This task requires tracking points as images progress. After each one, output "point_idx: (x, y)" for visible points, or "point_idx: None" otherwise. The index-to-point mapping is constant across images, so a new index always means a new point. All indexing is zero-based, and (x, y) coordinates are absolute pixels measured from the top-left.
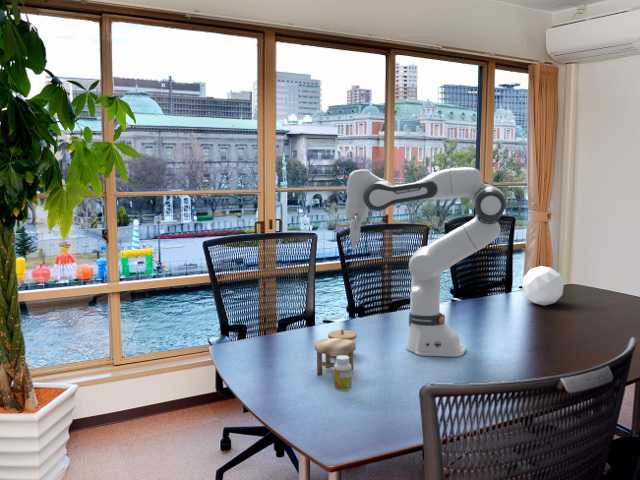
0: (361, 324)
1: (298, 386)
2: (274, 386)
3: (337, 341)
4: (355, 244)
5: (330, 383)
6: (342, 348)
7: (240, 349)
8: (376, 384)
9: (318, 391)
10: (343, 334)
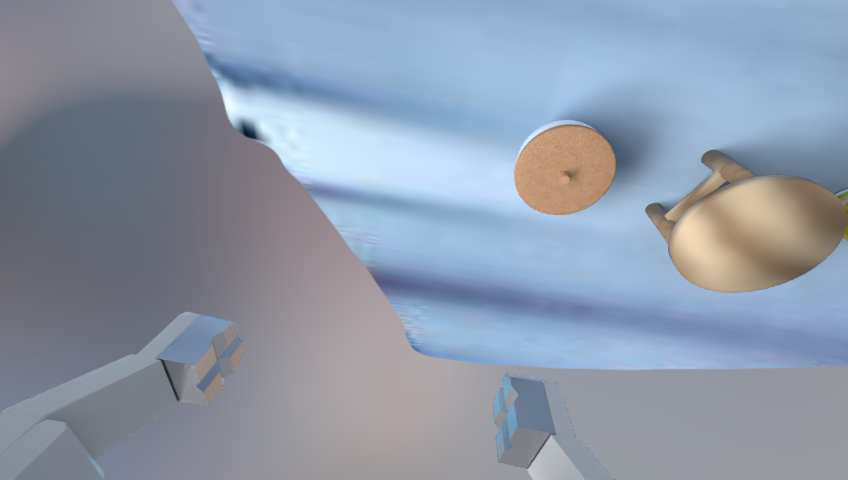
0: (260, 30)
1: None
2: (717, 323)
3: (726, 230)
4: (600, 478)
5: None
6: (823, 233)
7: (460, 331)
8: None
9: None
10: (575, 173)
